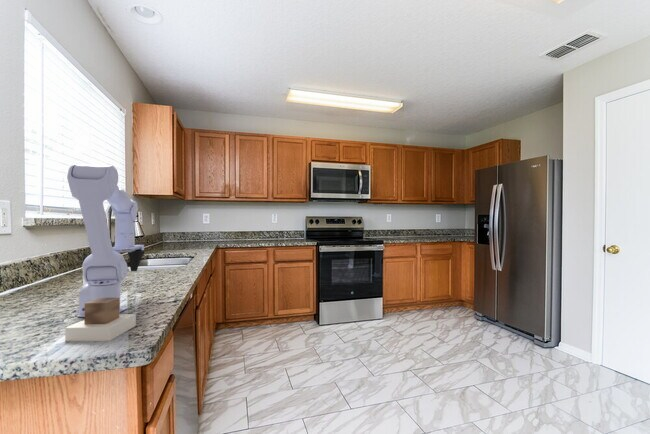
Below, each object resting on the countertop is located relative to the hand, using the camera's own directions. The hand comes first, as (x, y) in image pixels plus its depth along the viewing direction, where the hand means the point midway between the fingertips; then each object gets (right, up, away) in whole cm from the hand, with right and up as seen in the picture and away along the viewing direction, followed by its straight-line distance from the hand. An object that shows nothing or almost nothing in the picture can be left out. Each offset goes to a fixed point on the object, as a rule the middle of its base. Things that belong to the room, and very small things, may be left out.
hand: (124, 272), depth 105 cm
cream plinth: (+15, -10, -30) cm, 35 cm away
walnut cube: (+15, -6, -31) cm, 35 cm away
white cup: (-21, -10, +14) cm, 28 cm away
